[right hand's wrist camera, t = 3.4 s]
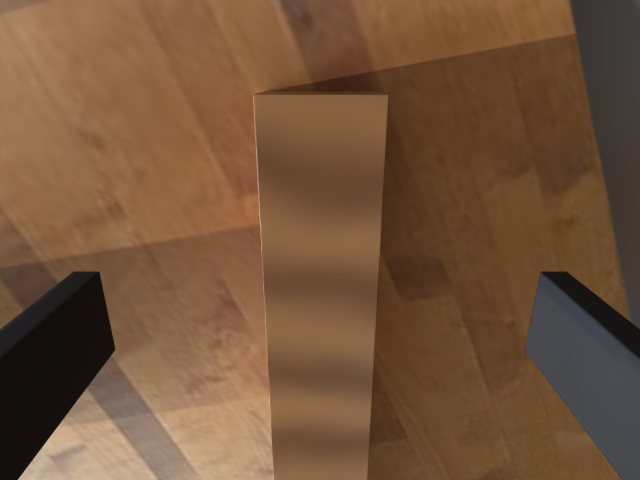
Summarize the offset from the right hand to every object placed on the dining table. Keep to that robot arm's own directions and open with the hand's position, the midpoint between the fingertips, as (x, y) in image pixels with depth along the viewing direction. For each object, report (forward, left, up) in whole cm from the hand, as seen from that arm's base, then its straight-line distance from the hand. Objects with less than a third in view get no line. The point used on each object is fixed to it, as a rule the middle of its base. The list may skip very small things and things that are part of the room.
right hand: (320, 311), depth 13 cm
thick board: (-4, -34, -26) cm, 43 cm away
